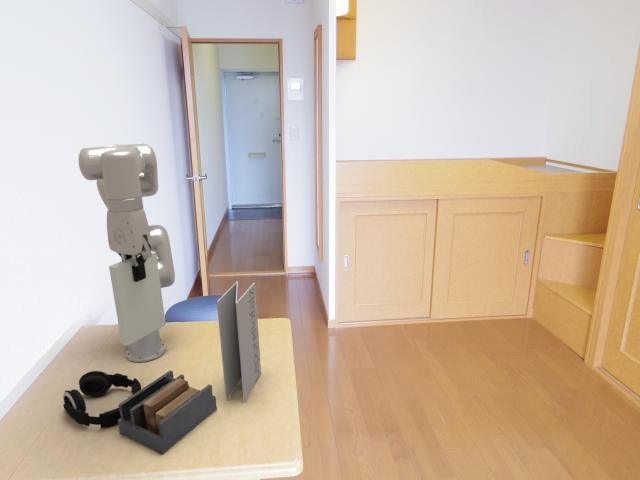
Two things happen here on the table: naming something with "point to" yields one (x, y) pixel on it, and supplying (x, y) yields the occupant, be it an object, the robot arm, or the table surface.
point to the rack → (170, 426)
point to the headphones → (93, 387)
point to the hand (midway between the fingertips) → (136, 278)
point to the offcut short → (174, 405)
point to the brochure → (239, 339)
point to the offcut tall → (162, 402)
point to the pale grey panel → (137, 300)
